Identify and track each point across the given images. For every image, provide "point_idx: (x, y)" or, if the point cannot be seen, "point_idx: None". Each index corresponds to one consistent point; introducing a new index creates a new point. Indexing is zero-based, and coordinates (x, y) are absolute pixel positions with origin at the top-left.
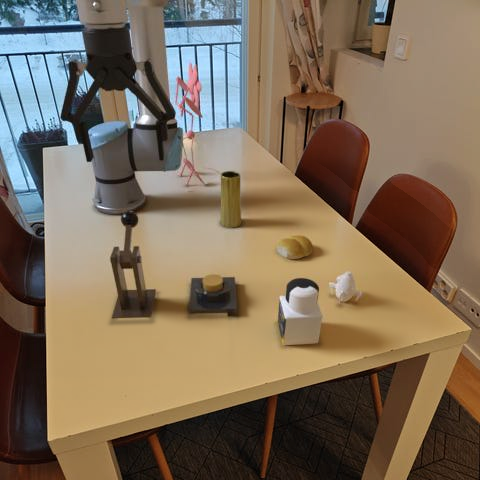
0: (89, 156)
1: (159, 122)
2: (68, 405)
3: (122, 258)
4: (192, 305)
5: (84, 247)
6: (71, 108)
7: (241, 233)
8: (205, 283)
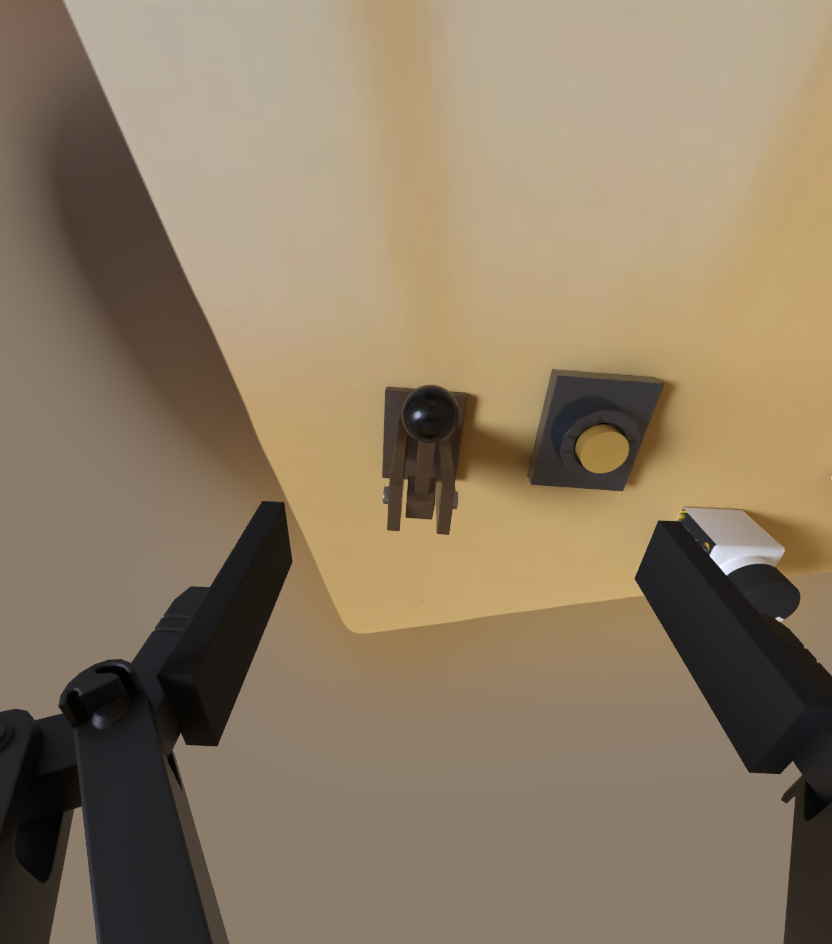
0: (282, 581)
1: (801, 746)
2: (353, 606)
3: (414, 513)
4: (539, 473)
5: (220, 91)
6: (17, 826)
7: (823, 25)
8: (585, 464)
